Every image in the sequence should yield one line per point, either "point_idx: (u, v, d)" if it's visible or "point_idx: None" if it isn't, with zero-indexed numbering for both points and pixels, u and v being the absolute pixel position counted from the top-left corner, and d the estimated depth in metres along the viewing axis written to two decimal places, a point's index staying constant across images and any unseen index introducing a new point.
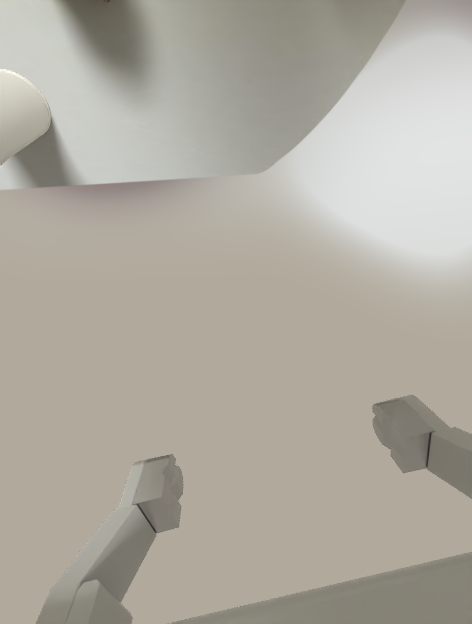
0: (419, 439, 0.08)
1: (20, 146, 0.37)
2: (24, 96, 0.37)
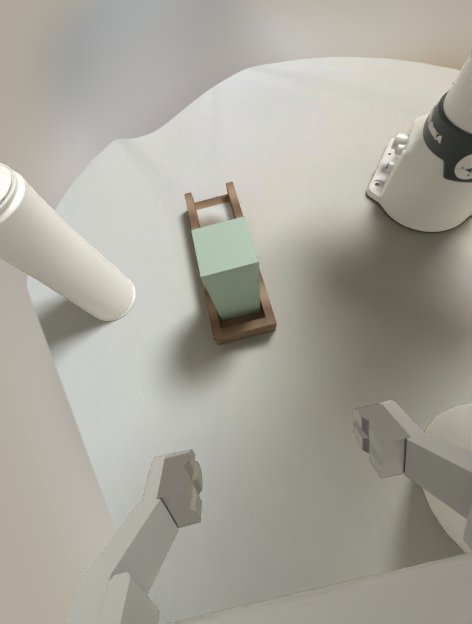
0: (395, 445, 0.08)
1: (60, 292, 0.34)
2: (116, 297, 0.39)
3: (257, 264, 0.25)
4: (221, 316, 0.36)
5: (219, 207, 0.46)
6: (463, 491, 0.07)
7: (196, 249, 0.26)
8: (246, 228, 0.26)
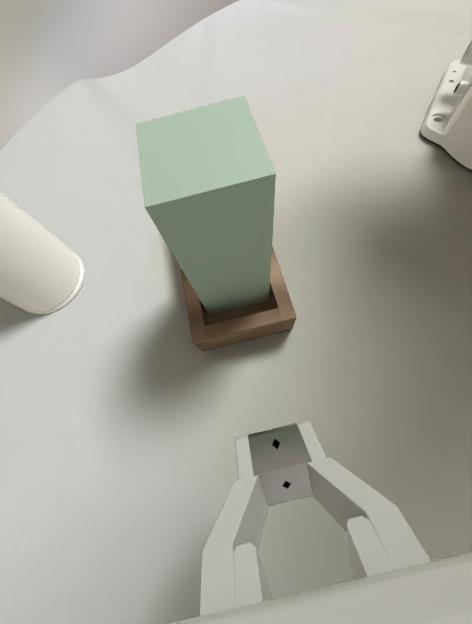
0: (297, 469, 0.08)
1: None
2: (47, 277, 0.25)
3: (272, 182, 0.11)
4: (206, 306, 0.22)
5: None
6: (351, 518, 0.07)
7: (142, 156, 0.12)
8: (248, 115, 0.13)
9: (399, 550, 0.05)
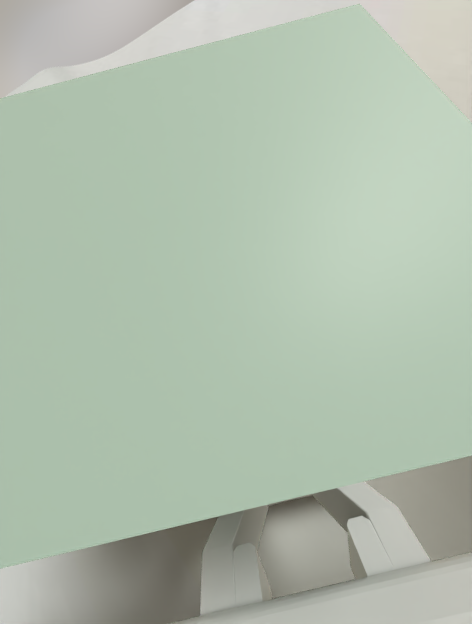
0: None
1: None
2: None
3: None
4: None
5: None
6: (351, 518, 0.07)
7: None
8: (395, 62, 0.03)
9: (399, 550, 0.05)
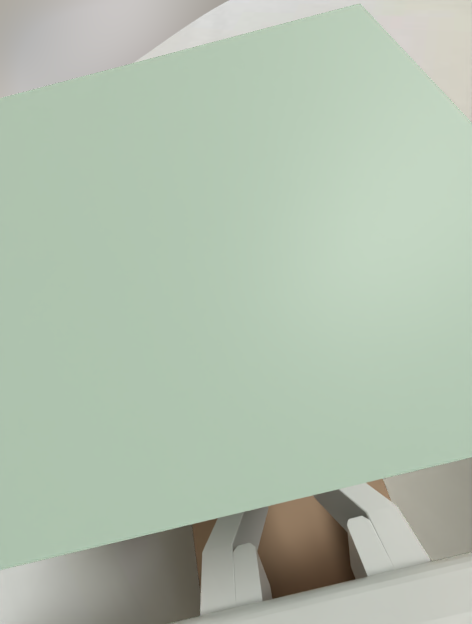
0: None
1: None
2: None
3: None
4: None
5: None
6: (351, 518, 0.07)
7: None
8: (396, 61, 0.03)
9: (399, 550, 0.05)
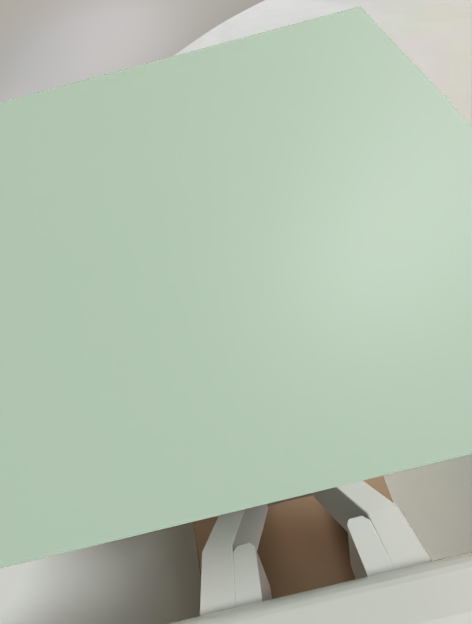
0: None
1: None
2: None
3: None
4: None
5: None
6: (351, 518, 0.07)
7: None
8: (396, 64, 0.03)
9: (400, 550, 0.05)
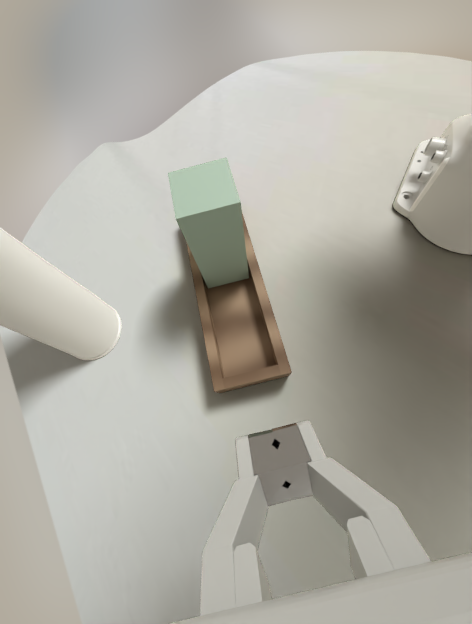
0: (298, 469, 0.08)
1: (23, 333, 0.28)
2: (96, 334, 0.32)
3: (239, 206, 0.22)
4: (206, 281, 0.33)
5: None
6: (351, 518, 0.07)
7: (172, 191, 0.23)
8: (228, 169, 0.24)
9: (399, 550, 0.05)
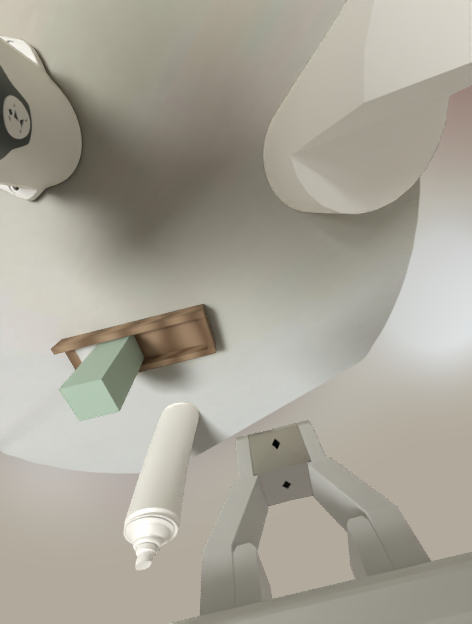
0: (297, 469, 0.08)
1: None
2: (184, 417, 0.53)
3: (102, 378, 0.34)
4: (141, 363, 0.47)
5: (80, 353, 0.47)
6: (351, 518, 0.07)
7: (96, 416, 0.36)
8: (71, 387, 0.34)
9: (399, 550, 0.05)
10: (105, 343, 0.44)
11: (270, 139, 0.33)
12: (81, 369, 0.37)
